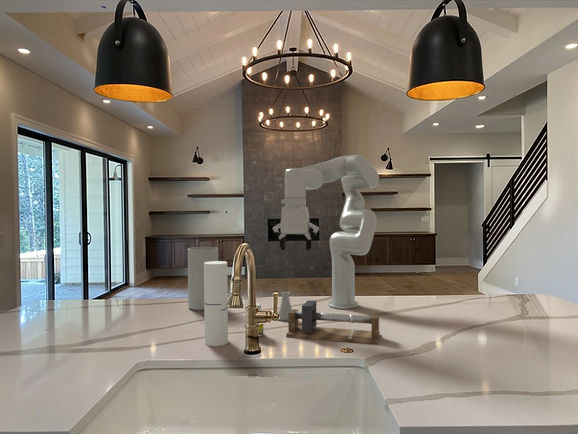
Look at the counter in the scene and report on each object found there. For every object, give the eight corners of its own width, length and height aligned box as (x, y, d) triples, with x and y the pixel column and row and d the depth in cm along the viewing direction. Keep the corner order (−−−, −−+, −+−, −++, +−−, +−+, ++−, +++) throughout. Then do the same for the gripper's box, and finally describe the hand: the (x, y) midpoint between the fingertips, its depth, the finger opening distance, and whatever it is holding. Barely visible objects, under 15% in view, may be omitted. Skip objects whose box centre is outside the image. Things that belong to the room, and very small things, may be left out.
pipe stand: (286, 336, 135) (286, 314, 135) (294, 328, 144) (294, 307, 144) (377, 344, 127) (377, 320, 127) (379, 334, 136) (379, 312, 136)
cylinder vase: (223, 304, 181) (222, 247, 180) (211, 311, 169) (210, 250, 168) (196, 303, 184) (195, 246, 183) (183, 309, 172) (182, 249, 171)
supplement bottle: (244, 334, 138) (243, 303, 138) (259, 331, 140) (259, 301, 140) (249, 338, 133) (249, 307, 133) (265, 336, 135) (265, 305, 135)
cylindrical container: (202, 340, 131) (201, 261, 131) (224, 337, 134) (224, 260, 134) (207, 347, 125) (206, 264, 124) (230, 344, 128) (229, 263, 127)
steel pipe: (292, 319, 138) (292, 311, 138) (294, 317, 140) (294, 309, 140) (375, 325, 130) (375, 317, 130) (375, 323, 133) (375, 314, 133)
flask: (295, 316, 160) (295, 290, 160) (294, 321, 153) (294, 294, 153) (277, 316, 161) (277, 290, 160) (274, 321, 154) (274, 294, 153)
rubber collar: (301, 331, 134) (301, 305, 134) (307, 324, 142) (307, 300, 142) (310, 332, 133) (310, 306, 133) (316, 325, 141) (316, 300, 141)
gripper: (269, 202, 149) (269, 250, 150) (316, 202, 145) (316, 251, 145) (275, 203, 157) (276, 248, 157) (321, 202, 152) (321, 249, 152)
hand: (295, 250), depth 151 cm, fingers open, 9 cm apart
